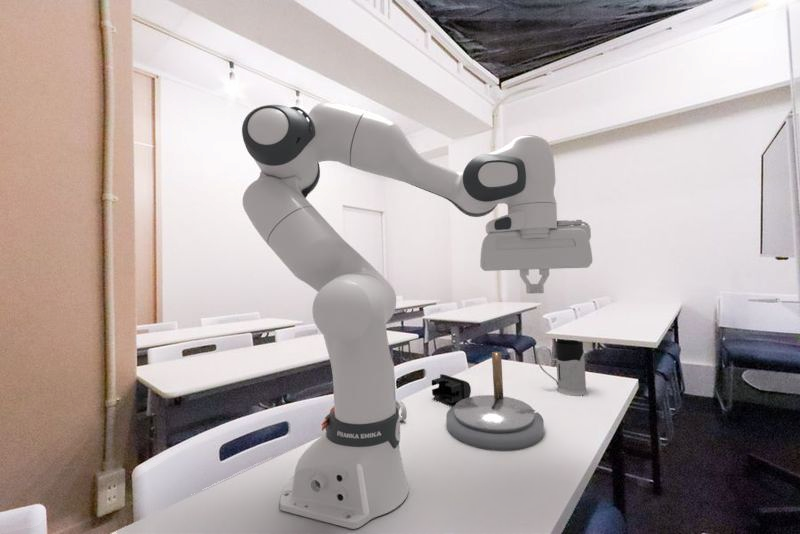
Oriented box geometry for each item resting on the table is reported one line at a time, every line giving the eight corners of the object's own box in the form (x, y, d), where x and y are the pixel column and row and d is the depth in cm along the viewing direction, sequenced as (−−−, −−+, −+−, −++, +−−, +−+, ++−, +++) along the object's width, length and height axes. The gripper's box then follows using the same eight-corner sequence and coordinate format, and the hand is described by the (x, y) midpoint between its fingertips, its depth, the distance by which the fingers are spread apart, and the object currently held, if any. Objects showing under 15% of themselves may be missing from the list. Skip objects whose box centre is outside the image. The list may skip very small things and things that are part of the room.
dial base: (444, 447, 76) (443, 435, 76) (448, 407, 98) (448, 397, 98) (555, 452, 71) (554, 439, 71) (533, 409, 94) (532, 399, 94)
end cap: (471, 402, 102) (470, 379, 102) (454, 408, 97) (453, 384, 98) (448, 393, 110) (447, 372, 110) (431, 399, 105) (430, 377, 106)
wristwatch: (400, 415, 94) (399, 397, 94) (409, 422, 90) (408, 402, 90) (390, 418, 93) (389, 399, 93) (399, 425, 88) (398, 405, 88)
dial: (530, 438, 72) (526, 374, 72) (443, 425, 81) (441, 367, 81) (537, 405, 89) (534, 353, 89) (465, 397, 98) (463, 349, 98)
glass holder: (591, 396, 101) (588, 345, 101) (539, 394, 105) (537, 345, 105) (583, 386, 110) (581, 339, 110) (536, 385, 113) (533, 339, 114)
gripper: (584, 221, 68) (587, 291, 68) (478, 226, 72) (480, 293, 71) (596, 216, 62) (599, 293, 62) (479, 222, 65) (482, 295, 65)
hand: (534, 293), depth 67 cm, fingers closed
